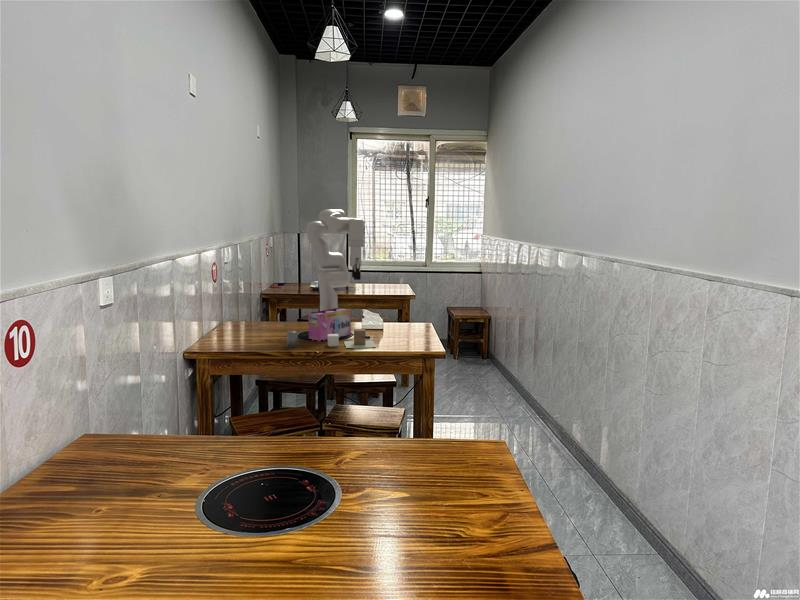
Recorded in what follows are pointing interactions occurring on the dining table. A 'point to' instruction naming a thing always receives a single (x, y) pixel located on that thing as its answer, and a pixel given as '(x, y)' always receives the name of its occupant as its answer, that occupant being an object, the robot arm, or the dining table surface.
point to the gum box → (329, 323)
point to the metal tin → (292, 338)
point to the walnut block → (359, 336)
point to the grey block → (333, 339)
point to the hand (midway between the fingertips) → (356, 278)
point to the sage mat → (351, 345)
